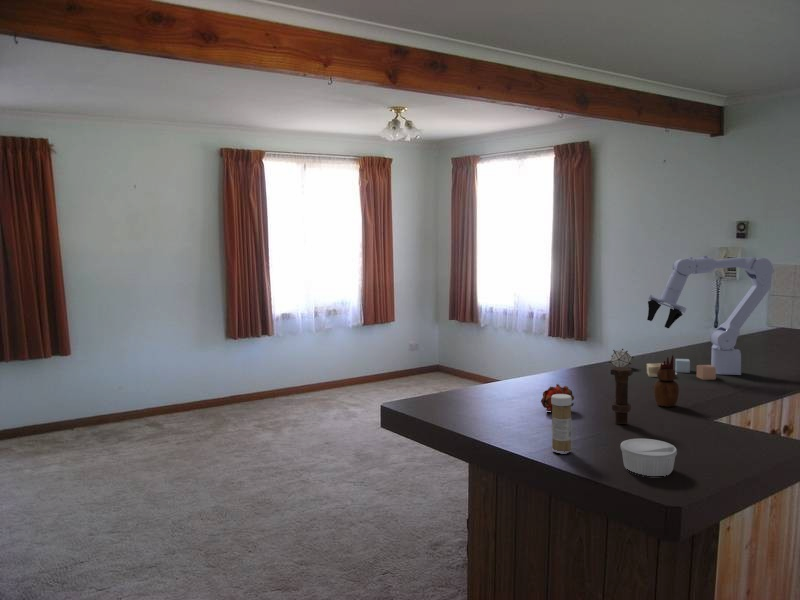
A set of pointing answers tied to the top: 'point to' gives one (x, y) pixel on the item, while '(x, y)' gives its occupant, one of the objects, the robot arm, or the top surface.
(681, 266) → the robot arm
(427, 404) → the top surface
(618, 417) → the bolt
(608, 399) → the top surface
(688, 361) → the blue-grey block
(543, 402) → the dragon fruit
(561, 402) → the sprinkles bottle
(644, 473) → the ramekin
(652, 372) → the maple base block
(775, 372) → the top surface
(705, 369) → the terracotta block
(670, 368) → the wooden figurine
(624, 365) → the game die
